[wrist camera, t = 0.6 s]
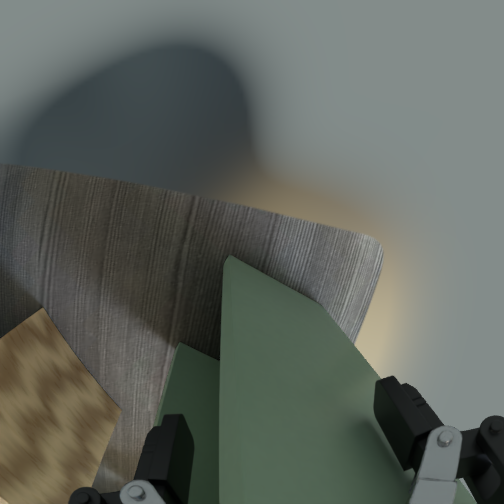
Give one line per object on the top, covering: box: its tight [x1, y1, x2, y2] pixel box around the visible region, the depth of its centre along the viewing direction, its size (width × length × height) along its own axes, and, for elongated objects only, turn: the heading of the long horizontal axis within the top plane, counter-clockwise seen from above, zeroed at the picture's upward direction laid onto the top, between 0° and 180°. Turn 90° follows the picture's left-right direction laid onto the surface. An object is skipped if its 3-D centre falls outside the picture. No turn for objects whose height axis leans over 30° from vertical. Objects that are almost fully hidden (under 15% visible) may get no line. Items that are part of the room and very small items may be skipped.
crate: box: [0, 308, 122, 504], centre depth 20 cm, size 16×14×22 cm
